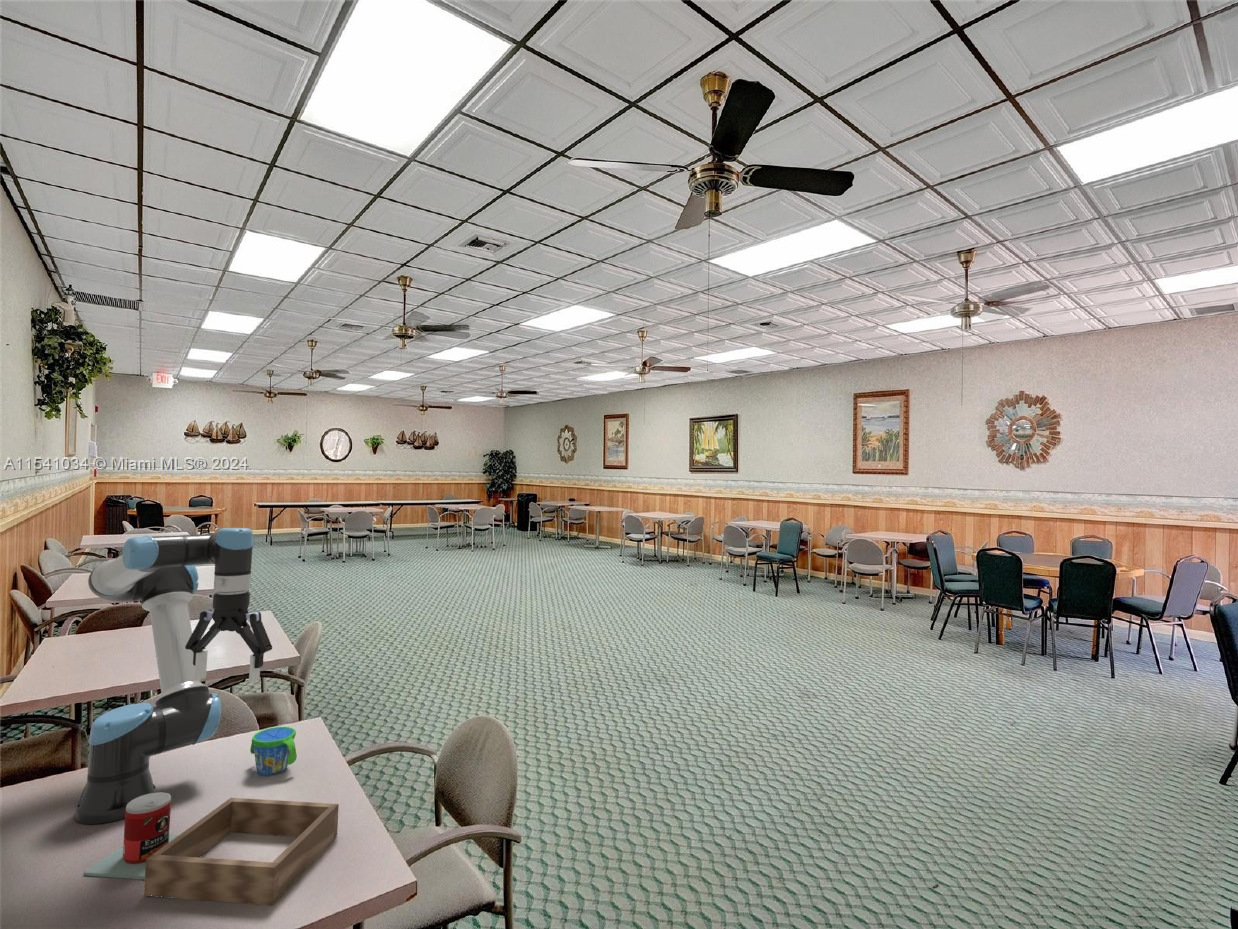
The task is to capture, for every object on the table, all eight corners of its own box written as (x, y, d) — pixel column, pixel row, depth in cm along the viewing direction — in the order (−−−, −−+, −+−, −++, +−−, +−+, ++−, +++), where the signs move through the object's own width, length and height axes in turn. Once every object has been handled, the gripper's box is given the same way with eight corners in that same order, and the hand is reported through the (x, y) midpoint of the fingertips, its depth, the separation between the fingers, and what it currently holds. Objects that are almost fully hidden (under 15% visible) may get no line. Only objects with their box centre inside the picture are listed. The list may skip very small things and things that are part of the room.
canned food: (143, 867, 121) (146, 813, 122) (112, 861, 123) (115, 807, 124) (177, 845, 129) (180, 794, 129) (148, 840, 131) (151, 789, 131)
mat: (83, 875, 119) (83, 872, 119) (143, 835, 133) (143, 832, 133) (148, 880, 119) (149, 877, 119) (202, 839, 133) (202, 836, 133)
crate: (143, 896, 114) (146, 859, 114) (229, 828, 137) (230, 797, 137) (272, 905, 112) (274, 867, 113) (337, 835, 135) (338, 804, 136)
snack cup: (307, 770, 166) (309, 733, 166) (270, 786, 156) (272, 747, 157) (274, 756, 173) (276, 721, 174) (237, 771, 164) (239, 734, 164)
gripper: (170, 592, 140) (165, 682, 139) (271, 596, 139) (266, 687, 138) (195, 587, 148) (190, 673, 147) (290, 591, 146) (286, 677, 145)
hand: (227, 680), depth 142 cm, fingers open, 13 cm apart
